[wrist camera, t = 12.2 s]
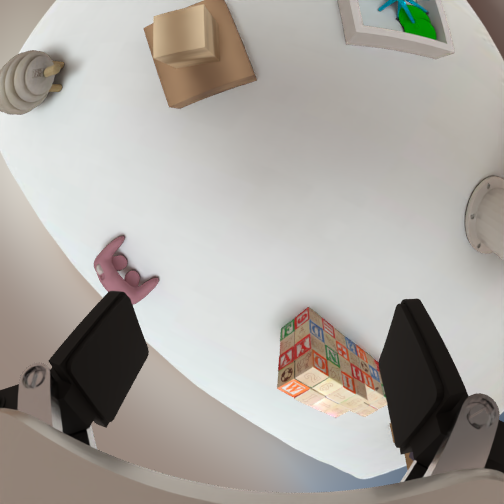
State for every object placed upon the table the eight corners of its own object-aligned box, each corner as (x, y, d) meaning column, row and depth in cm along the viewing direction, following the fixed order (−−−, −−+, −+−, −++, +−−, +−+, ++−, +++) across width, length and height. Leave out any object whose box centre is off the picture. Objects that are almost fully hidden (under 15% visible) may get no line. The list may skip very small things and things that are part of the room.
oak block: (218, 24, 22) (203, 4, 16) (219, 61, 24) (204, 47, 18) (175, 32, 22) (153, 16, 17) (176, 68, 24) (153, 58, 19)
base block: (227, 6, 23) (221, -6, 20) (257, 81, 28) (253, 74, 24) (156, 36, 25) (143, 28, 22) (181, 108, 30) (169, 107, 26)
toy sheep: (24, 70, 26) (-20, 72, 16) (87, 37, 25) (38, 25, 15) (22, 122, 31) (-23, 131, 21) (83, 97, 29) (29, 98, 19)
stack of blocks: (382, 363, 44) (396, 415, 33) (356, 380, 47) (365, 431, 36) (307, 305, 40) (313, 367, 29) (279, 328, 42) (275, 389, 31)
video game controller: (114, 239, 40) (84, 266, 36) (122, 231, 37) (89, 260, 33) (152, 285, 43) (125, 314, 39) (163, 281, 40) (134, 313, 36)
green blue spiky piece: (354, -21, 17) (404, -38, 11) (372, -23, 19) (415, -36, 12) (401, 54, 24) (452, 47, 17) (412, 42, 25) (456, 37, 19)
